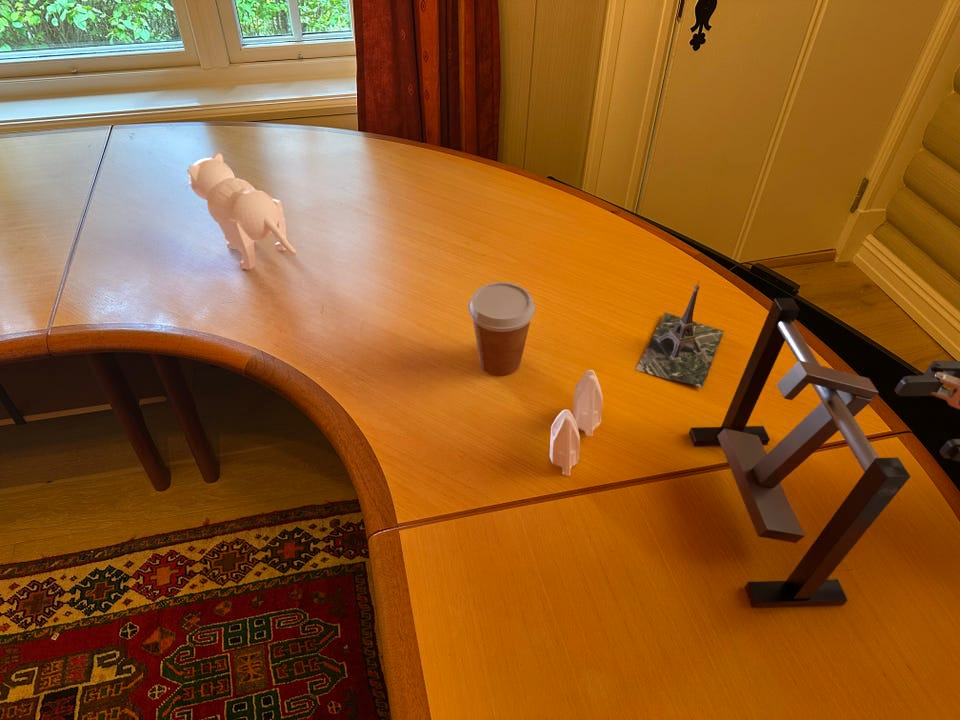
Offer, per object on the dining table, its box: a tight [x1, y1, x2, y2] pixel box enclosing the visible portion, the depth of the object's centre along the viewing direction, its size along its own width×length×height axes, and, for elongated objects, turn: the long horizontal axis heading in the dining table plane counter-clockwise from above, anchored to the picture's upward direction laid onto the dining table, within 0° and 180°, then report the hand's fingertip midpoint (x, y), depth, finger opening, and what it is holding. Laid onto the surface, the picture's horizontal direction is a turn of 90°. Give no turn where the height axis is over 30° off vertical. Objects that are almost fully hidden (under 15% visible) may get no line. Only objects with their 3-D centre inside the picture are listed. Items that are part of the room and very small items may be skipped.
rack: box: [688, 297, 911, 609], centre depth 66 cm, size 24×10×23 cm, turn 2°
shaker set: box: [548, 369, 604, 477], centre depth 78 cm, size 12×4×11 cm, turn 148°
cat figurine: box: [180, 152, 298, 271], centre depth 110 cm, size 25×10×17 cm, turn 56°
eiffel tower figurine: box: [634, 280, 725, 388], centre depth 90 cm, size 15×10×13 cm
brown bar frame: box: [717, 360, 879, 544], centre depth 64 cm, size 10×14×18 cm
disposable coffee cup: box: [467, 281, 536, 377], centre depth 89 cm, size 10×10×12 cm
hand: (921, 416), depth 63 cm, fingers open, 8 cm apart
